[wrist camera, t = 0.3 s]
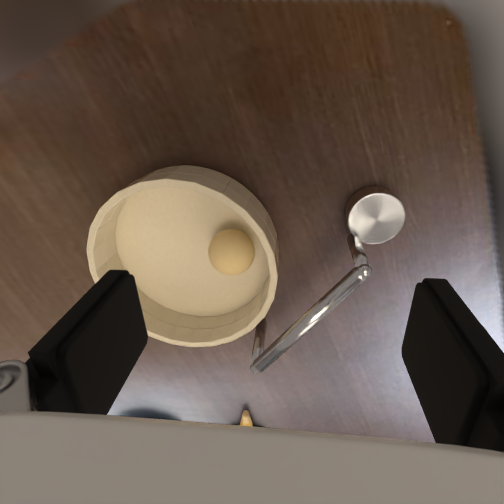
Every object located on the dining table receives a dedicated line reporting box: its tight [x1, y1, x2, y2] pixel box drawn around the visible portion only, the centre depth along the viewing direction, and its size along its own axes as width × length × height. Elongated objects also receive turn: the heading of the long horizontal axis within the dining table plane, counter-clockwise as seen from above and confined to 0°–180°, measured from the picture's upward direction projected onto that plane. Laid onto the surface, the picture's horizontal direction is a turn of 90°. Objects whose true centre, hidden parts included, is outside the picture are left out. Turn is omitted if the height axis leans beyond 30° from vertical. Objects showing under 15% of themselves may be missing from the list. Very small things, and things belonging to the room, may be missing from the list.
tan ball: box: [208, 229, 255, 275], centre depth 28 cm, size 4×4×4 cm
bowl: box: [86, 165, 279, 347], centre depth 30 cm, size 16×16×4 cm
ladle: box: [250, 186, 405, 373], centre depth 28 cm, size 18×4×7 cm, turn 144°
